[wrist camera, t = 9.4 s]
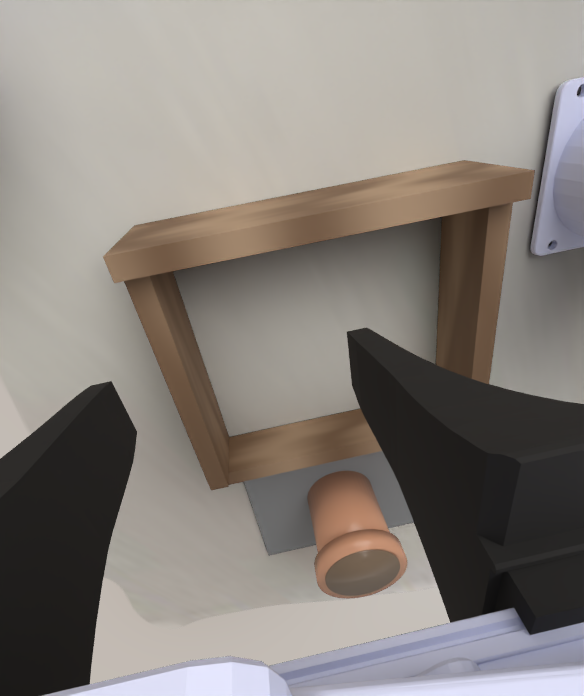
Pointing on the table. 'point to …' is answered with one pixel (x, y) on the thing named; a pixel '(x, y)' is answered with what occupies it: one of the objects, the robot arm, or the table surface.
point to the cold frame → (308, 227)
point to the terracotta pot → (352, 537)
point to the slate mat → (292, 505)
